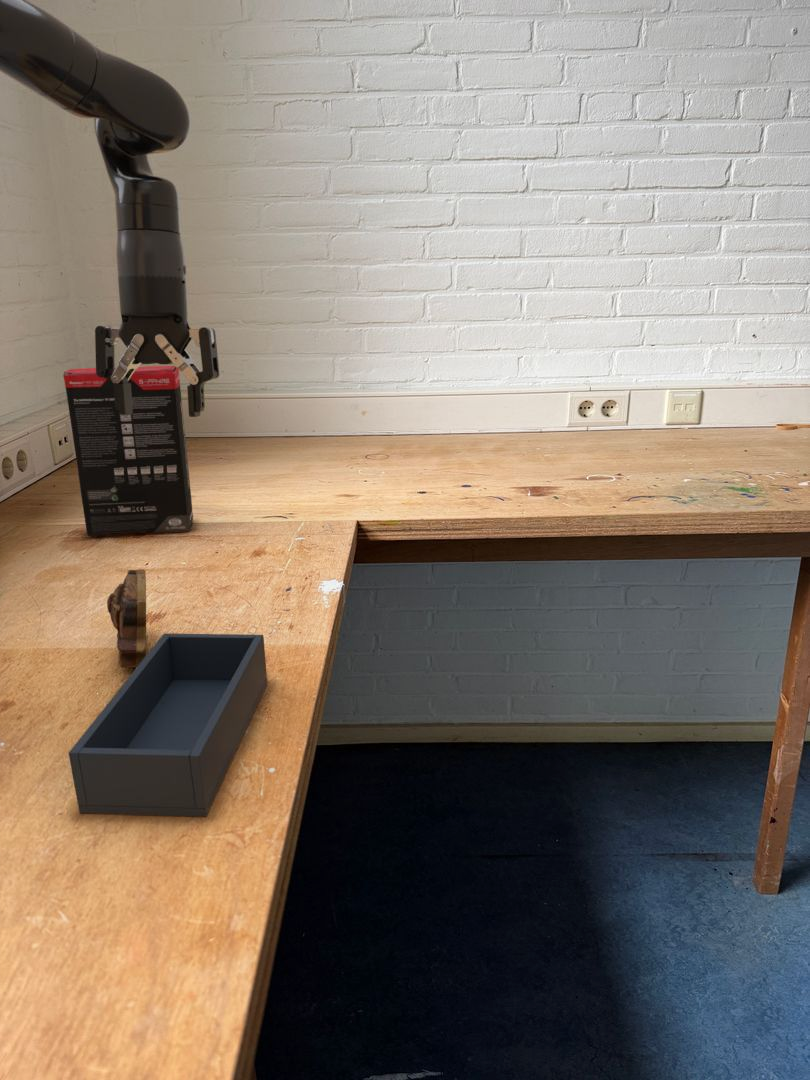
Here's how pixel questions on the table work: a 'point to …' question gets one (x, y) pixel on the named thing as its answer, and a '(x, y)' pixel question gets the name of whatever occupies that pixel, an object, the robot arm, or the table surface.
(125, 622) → the wooden carving
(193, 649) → the bin
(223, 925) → the table surface
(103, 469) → the graphics card box
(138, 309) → the robot arm
